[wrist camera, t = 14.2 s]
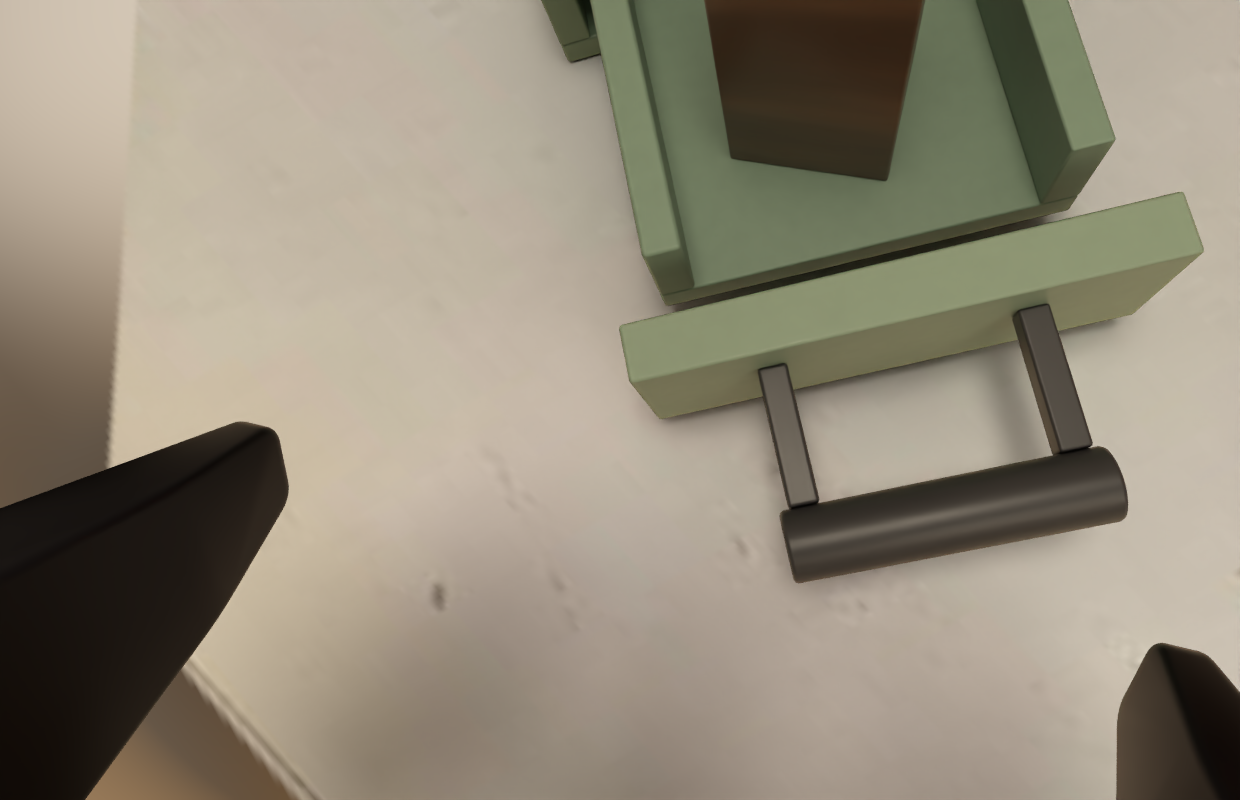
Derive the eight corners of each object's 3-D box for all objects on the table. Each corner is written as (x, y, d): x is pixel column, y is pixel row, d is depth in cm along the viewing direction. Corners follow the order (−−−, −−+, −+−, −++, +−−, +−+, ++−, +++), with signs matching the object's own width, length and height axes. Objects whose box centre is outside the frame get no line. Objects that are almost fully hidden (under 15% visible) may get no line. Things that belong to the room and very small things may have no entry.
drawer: (1198, 508, 19) (1291, 486, 15) (695, 605, 21) (671, 606, 17) (922, -323, 24) (942, -485, 21) (536, -197, 26) (491, -329, 22)
